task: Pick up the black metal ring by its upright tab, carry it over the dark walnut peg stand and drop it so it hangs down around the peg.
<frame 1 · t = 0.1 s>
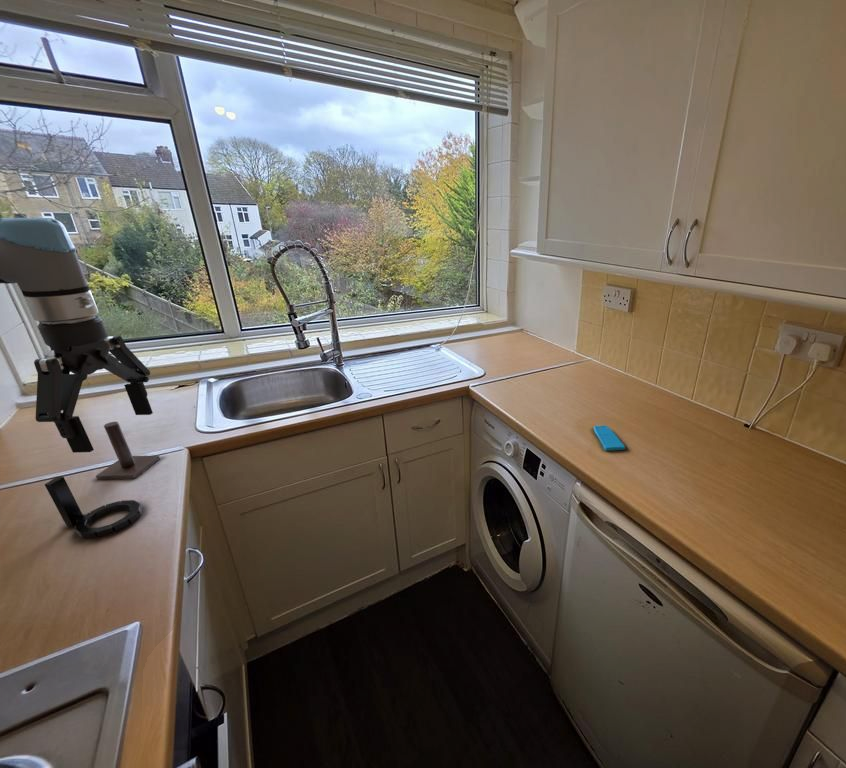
hand: (116, 431, 75), 19 cm above the worktop, tool pointing down, fingers open, 13 cm apart
peg stand: (129, 468, 95), on the worktop
sponge: (608, 440, 112), on the worktop
ring: (111, 521, 80), on the worktop
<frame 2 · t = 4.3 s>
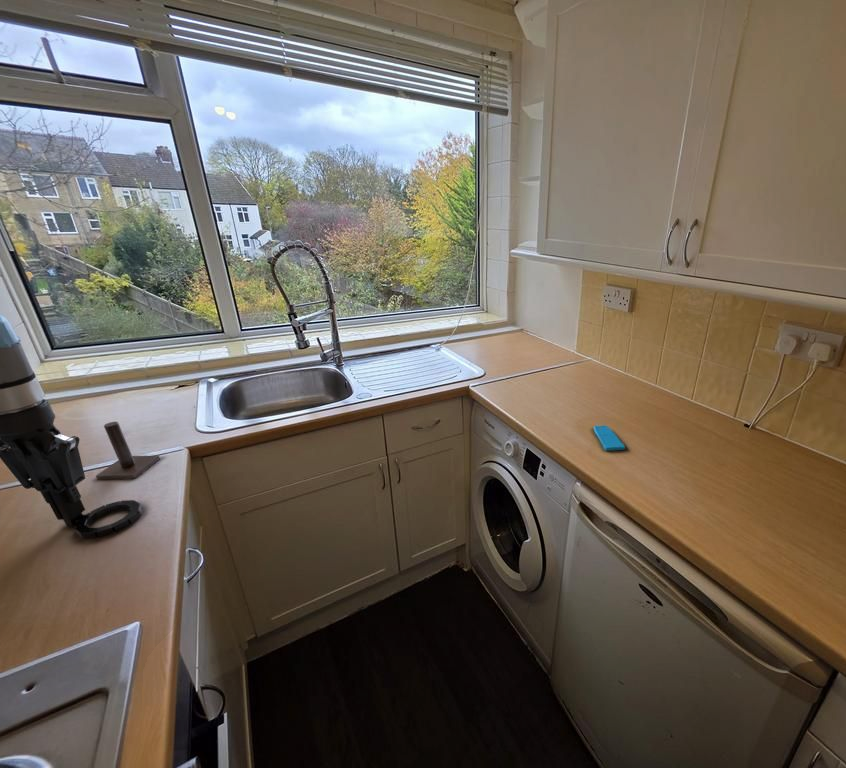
hand: (71, 514, 78), 2 cm above the worktop, tool pointing down, fingers closed on ring
ring: (111, 521, 80), on the worktop, touching gripper
everything else where it was.
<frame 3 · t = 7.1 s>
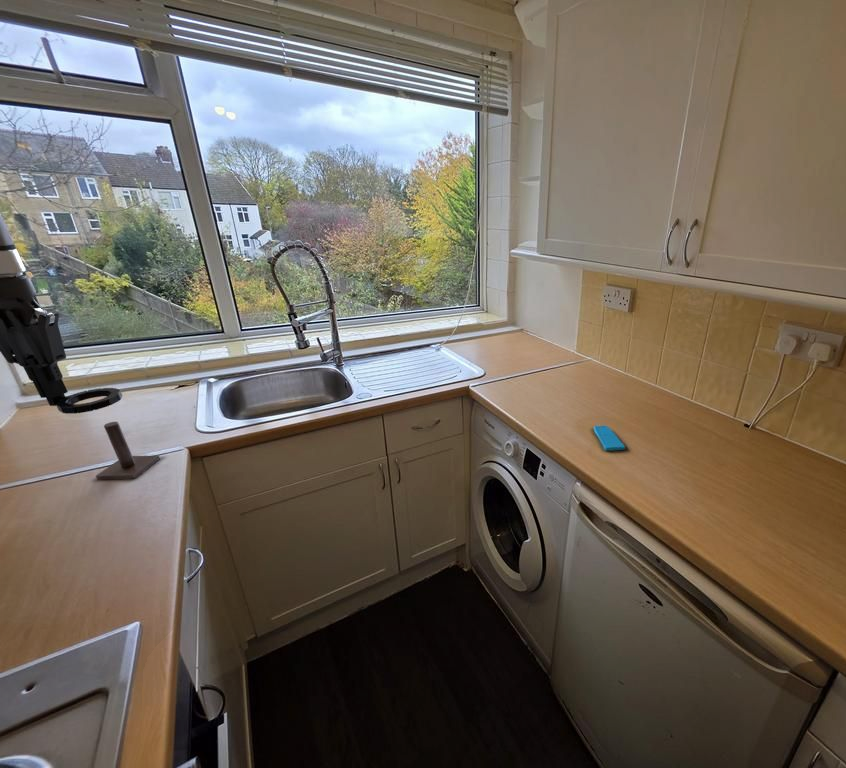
hand: (54, 394, 82), 22 cm above the worktop, tool pointing down, fingers closed on ring
ring: (92, 403, 83), point 20 cm above the worktop, touching gripper
everything else where it was.
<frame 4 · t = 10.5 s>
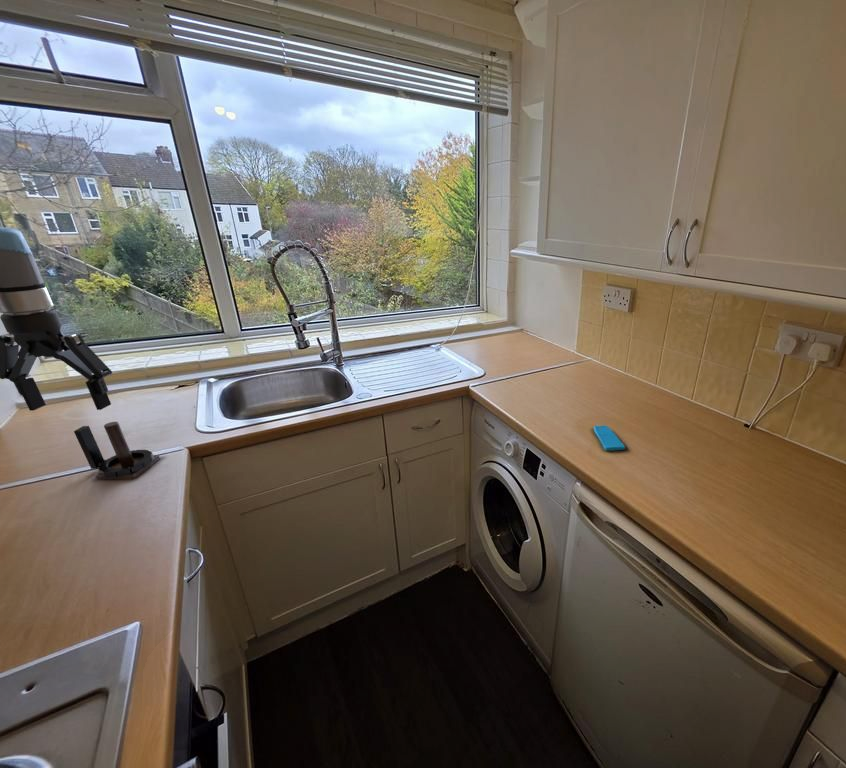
hand: (71, 407, 88), 16 cm above the worktop, tool pointing down, fingers open, 13 cm apart
ring: (128, 465, 95), point 1 cm above the worktop, touching peg stand
everything else where it was.
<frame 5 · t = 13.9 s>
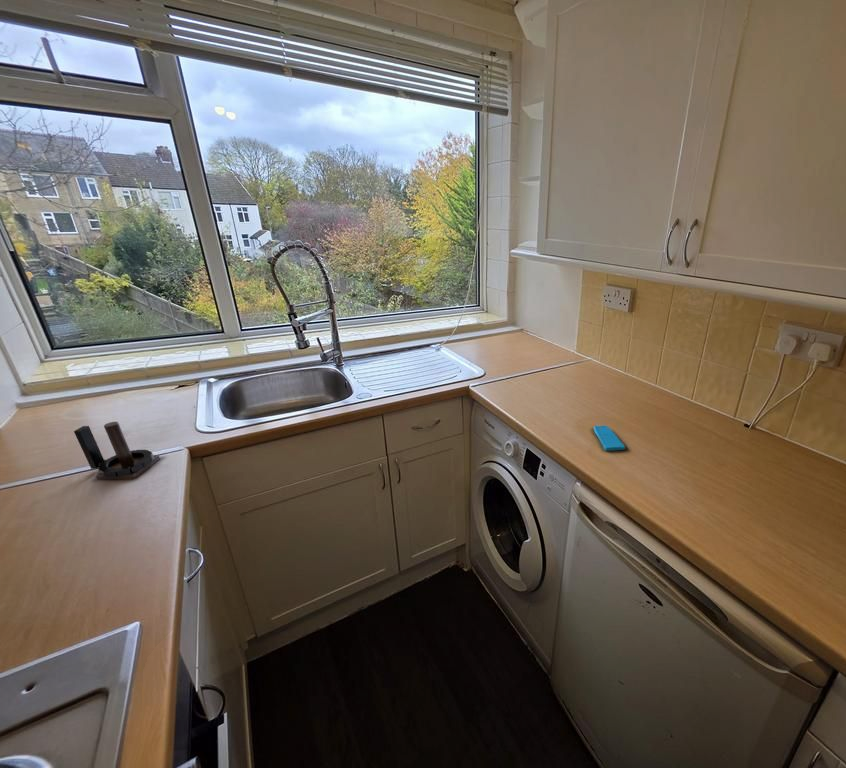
nothing on the worktop moved.
at the end: ring 0.0 cm off-centre on the peg stand, point 1.0 cm above the peg stand's base; the gripper is holding nothing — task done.
